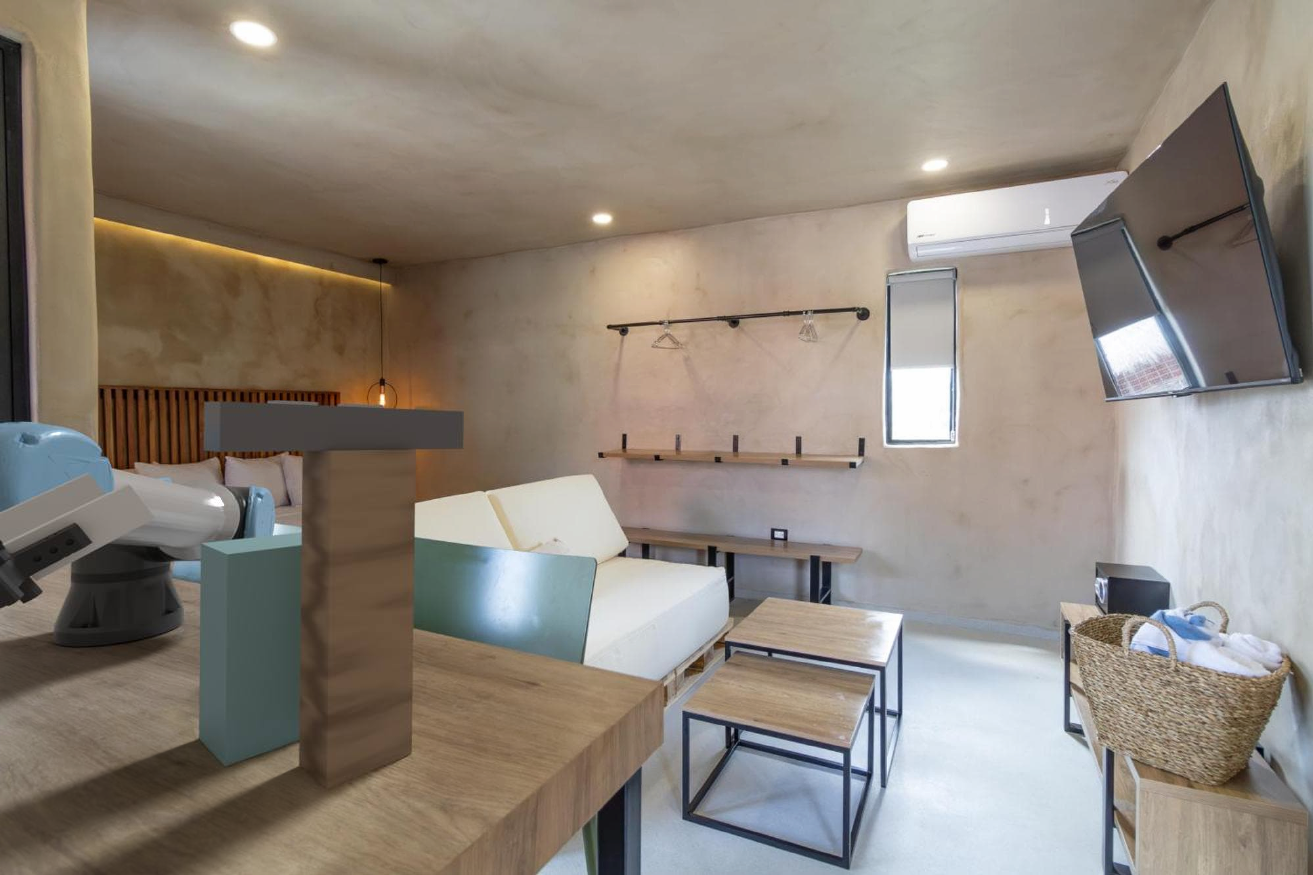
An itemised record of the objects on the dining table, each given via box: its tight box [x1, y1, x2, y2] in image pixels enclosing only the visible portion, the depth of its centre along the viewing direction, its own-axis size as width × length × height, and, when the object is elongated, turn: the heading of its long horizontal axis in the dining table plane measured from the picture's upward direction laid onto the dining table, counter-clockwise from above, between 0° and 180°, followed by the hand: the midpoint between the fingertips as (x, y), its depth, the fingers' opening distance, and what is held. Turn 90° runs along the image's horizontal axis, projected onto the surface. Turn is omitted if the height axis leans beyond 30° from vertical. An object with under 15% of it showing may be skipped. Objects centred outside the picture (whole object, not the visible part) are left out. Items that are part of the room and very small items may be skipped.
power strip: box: [203, 400, 465, 453], centre depth 58 cm, size 4×22×4 cm, turn 141°
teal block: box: [198, 531, 302, 767], centre depth 64 cm, size 8×10×20 cm
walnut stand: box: [298, 449, 417, 790], centre depth 59 cm, size 6×8×30 cm
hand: (119, 493), depth 45 cm, fingers open, 13 cm apart
